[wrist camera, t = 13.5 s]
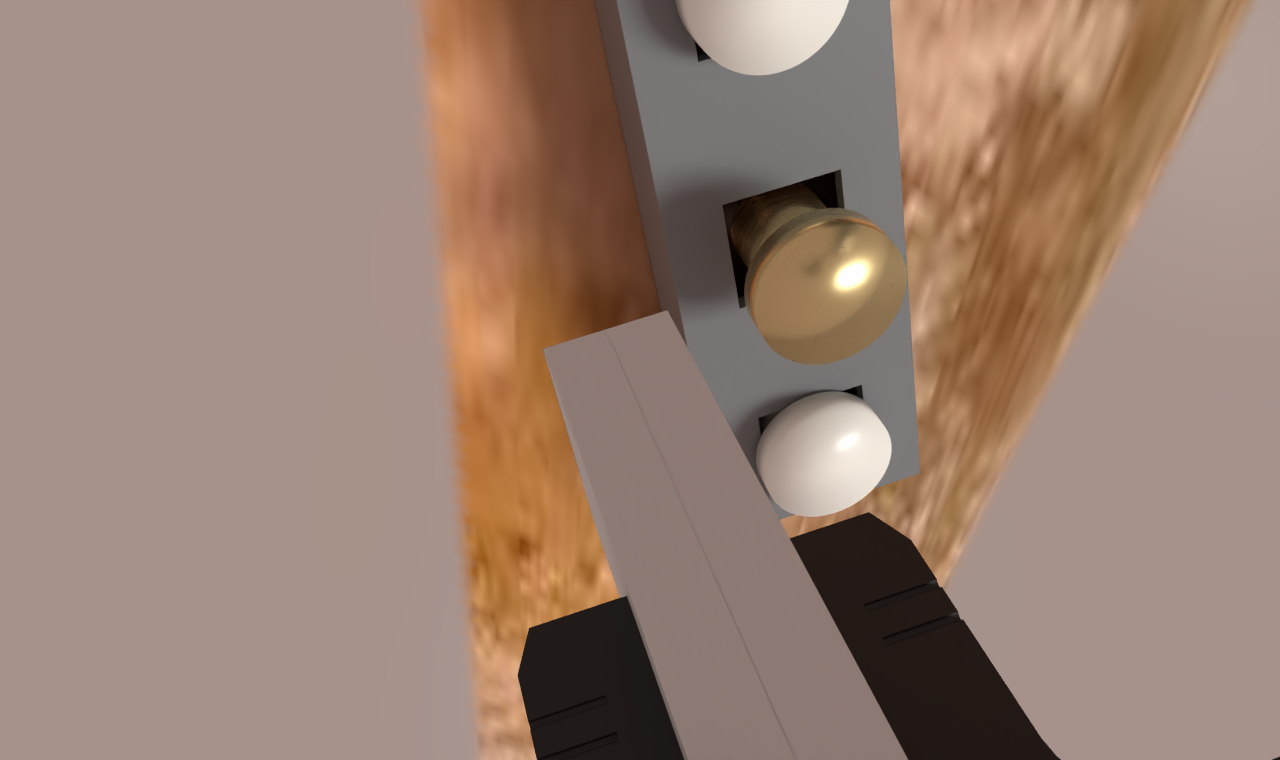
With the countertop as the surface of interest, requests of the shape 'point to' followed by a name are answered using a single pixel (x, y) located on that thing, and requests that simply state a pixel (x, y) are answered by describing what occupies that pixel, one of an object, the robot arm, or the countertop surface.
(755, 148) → the console
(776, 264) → the brass knob
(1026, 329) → the countertop surface
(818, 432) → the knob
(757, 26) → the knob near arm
